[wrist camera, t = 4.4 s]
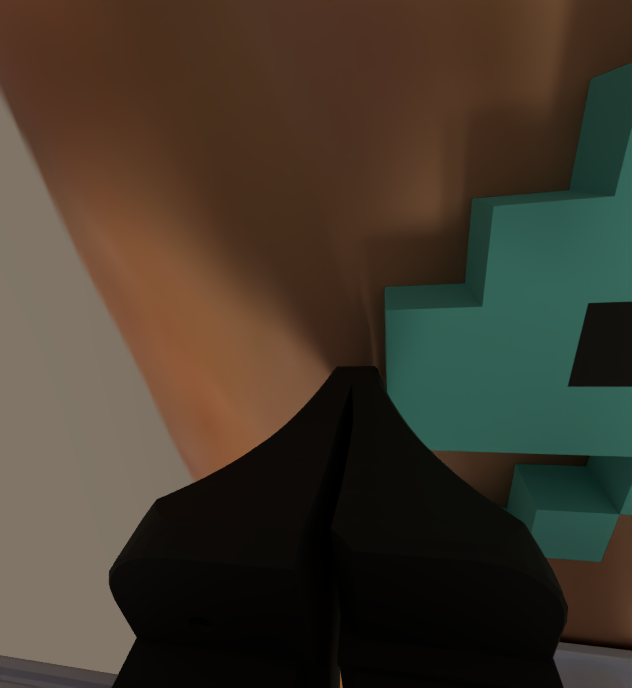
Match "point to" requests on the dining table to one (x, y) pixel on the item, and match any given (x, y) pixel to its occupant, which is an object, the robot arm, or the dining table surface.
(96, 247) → the dining table surface
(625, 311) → the alien figure
